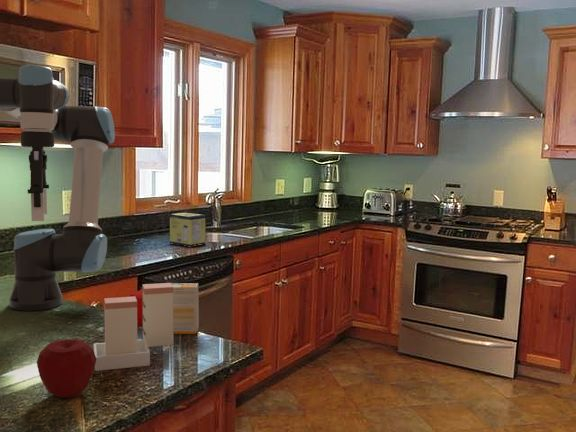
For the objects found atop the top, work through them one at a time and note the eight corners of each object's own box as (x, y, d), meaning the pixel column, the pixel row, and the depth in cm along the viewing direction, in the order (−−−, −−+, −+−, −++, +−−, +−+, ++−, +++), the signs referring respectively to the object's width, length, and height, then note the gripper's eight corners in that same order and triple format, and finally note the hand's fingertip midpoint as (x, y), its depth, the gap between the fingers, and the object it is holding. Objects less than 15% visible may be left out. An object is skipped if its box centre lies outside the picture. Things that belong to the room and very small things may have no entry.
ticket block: (142, 341, 149) (142, 284, 147) (170, 338, 151) (170, 282, 149) (144, 347, 144) (144, 288, 143) (173, 344, 147) (173, 287, 145)
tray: (93, 356, 138) (93, 343, 137) (145, 351, 142) (145, 339, 141) (94, 370, 129) (94, 357, 128) (149, 365, 133) (149, 352, 132)
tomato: (130, 317, 169) (130, 282, 168) (173, 318, 169) (174, 284, 167) (118, 329, 158) (117, 292, 157) (164, 330, 158) (164, 294, 156)
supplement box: (199, 329, 160) (199, 282, 158) (196, 334, 155) (197, 287, 153) (169, 328, 159) (169, 282, 158) (165, 334, 155) (165, 286, 153)
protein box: (184, 241, 302) (184, 212, 300) (205, 245, 293) (206, 214, 291) (169, 244, 293) (169, 213, 292) (191, 247, 285) (191, 216, 283)
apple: (25, 400, 113) (24, 343, 112) (64, 380, 123) (63, 327, 122) (70, 411, 109) (69, 351, 108) (107, 389, 119) (106, 334, 118)
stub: (105, 356, 136) (104, 298, 134) (135, 353, 138) (135, 296, 137) (105, 363, 132) (105, 303, 130) (137, 360, 134) (137, 301, 133)
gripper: (24, 131, 151) (27, 211, 154) (15, 129, 128) (18, 224, 131) (55, 132, 154) (57, 211, 156) (51, 130, 131) (54, 223, 133)
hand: (39, 217), depth 143 cm, fingers open, 13 cm apart
